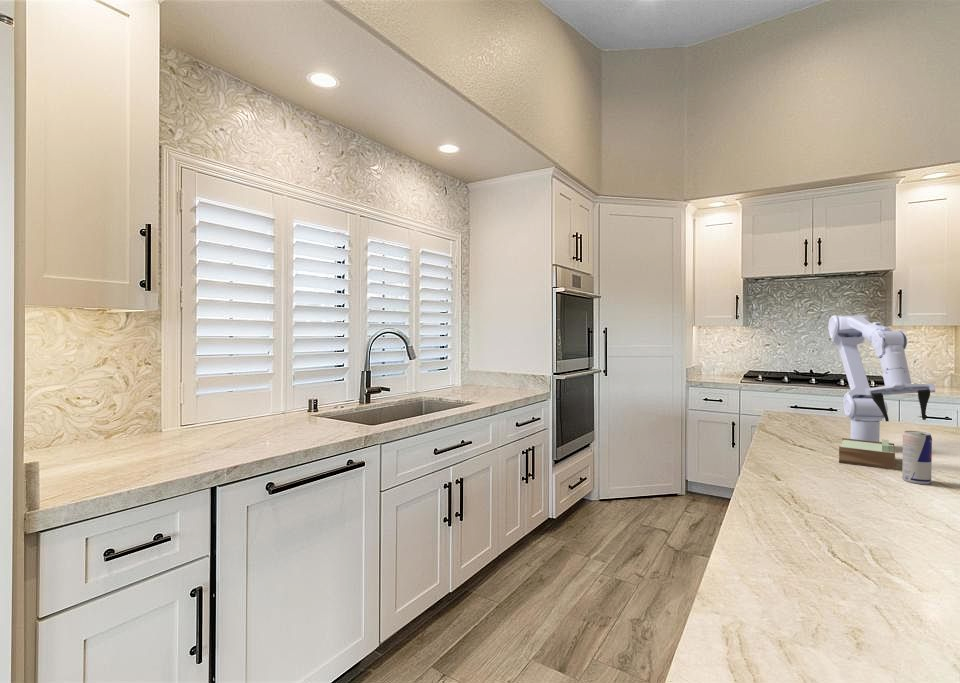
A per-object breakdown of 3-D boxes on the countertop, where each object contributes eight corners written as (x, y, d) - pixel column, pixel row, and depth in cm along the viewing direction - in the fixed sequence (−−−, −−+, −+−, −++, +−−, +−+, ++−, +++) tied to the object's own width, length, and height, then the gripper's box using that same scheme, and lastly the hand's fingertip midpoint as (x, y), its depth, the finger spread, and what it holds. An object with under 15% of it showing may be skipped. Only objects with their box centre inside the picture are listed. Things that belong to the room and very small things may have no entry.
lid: (843, 441, 149) (843, 434, 149) (893, 447, 142) (893, 439, 142) (840, 450, 139) (840, 441, 139) (893, 456, 132) (894, 447, 132)
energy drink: (937, 484, 119) (938, 435, 119) (914, 484, 119) (915, 435, 119) (918, 478, 125) (918, 430, 124) (896, 478, 125) (897, 430, 124)
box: (842, 452, 150) (842, 438, 150) (894, 458, 142) (894, 443, 142) (838, 462, 139) (839, 447, 139) (894, 470, 131) (895, 453, 131)
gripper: (861, 370, 140) (870, 418, 135) (930, 364, 131) (942, 415, 126) (863, 377, 145) (872, 423, 140) (929, 371, 136) (941, 420, 132)
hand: (905, 419), depth 134 cm, fingers open, 7 cm apart
